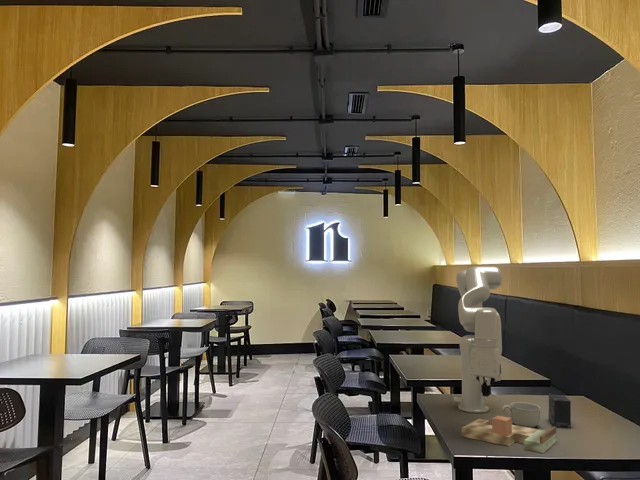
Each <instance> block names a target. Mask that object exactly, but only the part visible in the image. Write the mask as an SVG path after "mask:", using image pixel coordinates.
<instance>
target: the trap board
mask: <svg viewBox="0 0 640 480" xmlns="http://www.w3.org/2000/svg"><path fill="white" fill-rule="evenodd" d="M462 437H464V438H469V439H472V440H476V441H477V440H478V441H483V442H488V443H492V444H497V445H503V446H507V447H510V446H512V445H513V444H514V443H519V444H522V445H523V448H524V450H525V451H531V452H536V453H541V454H544V453H545V452H547V451H548V450H549V449H550V448H551V447H552V446H553V445H555V443H557V441H558V440H557V427H554V426H553V425H552V427H550V428H549V429H548V430H543V429H538V428H528V427H522V426H517V425H516V424H512V433H510V434H509V435H507V436H505V435H500V434H495V433H492V425H491V424H490V420H488V419H483V418H478V419H475V420H473V421H472V422H470V423H468V424H466V425H465V426H462V427H461V438H462Z"/></svg>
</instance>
